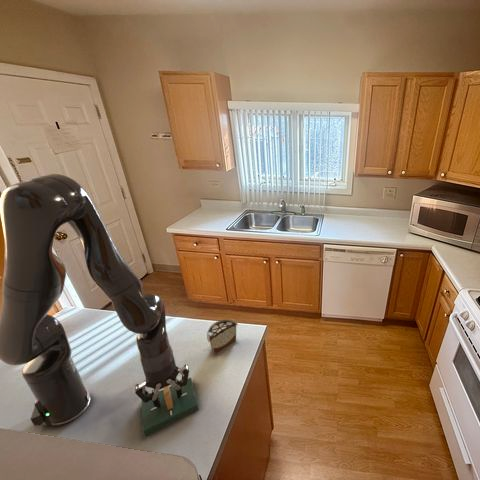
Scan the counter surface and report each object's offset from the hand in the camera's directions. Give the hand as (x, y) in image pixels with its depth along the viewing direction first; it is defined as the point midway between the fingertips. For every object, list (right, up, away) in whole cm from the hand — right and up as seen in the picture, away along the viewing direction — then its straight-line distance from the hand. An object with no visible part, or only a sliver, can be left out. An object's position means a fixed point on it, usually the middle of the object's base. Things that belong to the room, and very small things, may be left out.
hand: (169, 400), depth 78 cm
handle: (0, -1, 0) cm, 1 cm away
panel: (0, -3, +1) cm, 3 cm away
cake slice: (+7, +7, +25) cm, 26 cm away
